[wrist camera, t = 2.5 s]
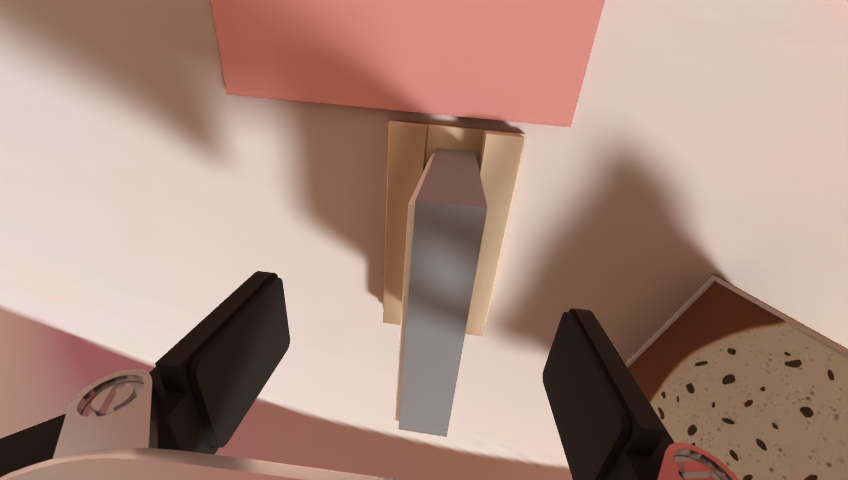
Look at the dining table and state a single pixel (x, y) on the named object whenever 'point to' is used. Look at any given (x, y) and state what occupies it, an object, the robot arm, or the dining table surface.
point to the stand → (404, 171)
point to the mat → (412, 54)
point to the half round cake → (749, 386)
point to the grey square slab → (438, 287)
